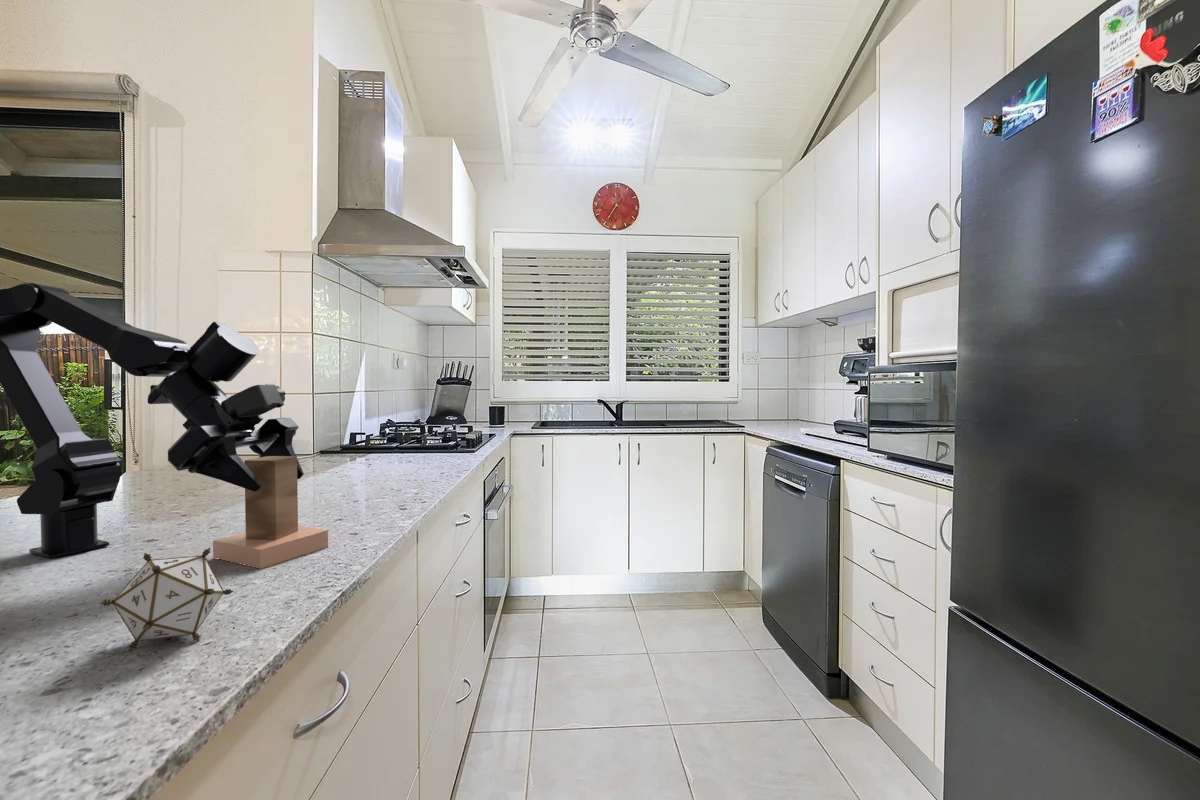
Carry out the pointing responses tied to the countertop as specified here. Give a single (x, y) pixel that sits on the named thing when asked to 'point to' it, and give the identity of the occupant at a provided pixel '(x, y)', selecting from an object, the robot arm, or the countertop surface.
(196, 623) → the game die
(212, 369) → the robot arm
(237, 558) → the terracotta tile
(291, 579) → the countertop surface
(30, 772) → the countertop surface
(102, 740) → the countertop surface
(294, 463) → the walnut block
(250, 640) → the countertop surface
